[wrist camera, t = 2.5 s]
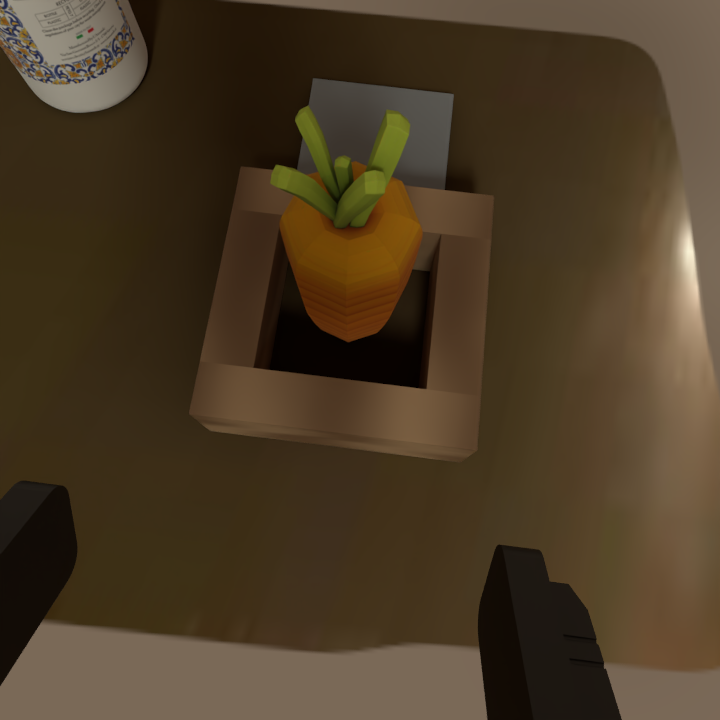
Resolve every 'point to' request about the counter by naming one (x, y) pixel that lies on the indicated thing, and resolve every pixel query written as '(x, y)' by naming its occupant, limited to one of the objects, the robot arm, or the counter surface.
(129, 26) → the bath foam
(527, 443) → the counter surface
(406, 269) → the carrot
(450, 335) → the holder
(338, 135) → the plate
